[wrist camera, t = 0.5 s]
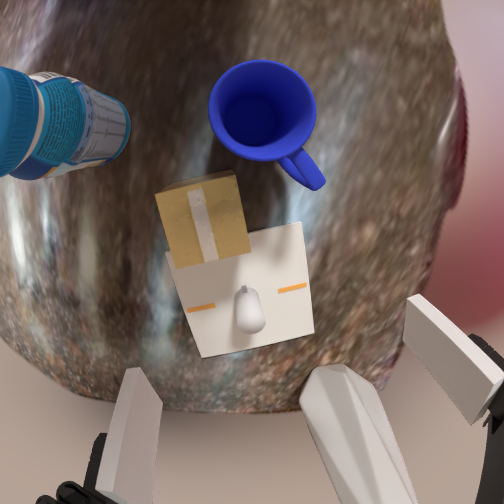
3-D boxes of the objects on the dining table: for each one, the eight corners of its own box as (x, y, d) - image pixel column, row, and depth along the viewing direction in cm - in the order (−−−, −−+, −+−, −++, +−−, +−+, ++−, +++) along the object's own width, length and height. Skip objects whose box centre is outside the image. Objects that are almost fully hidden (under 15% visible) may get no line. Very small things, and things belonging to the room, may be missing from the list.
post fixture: (165, 251, 32) (155, 272, 26) (300, 221, 33) (316, 236, 27) (201, 355, 38) (201, 385, 32) (313, 330, 38) (326, 357, 33)
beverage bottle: (147, 136, 27) (44, 122, 9) (91, 182, 28) (-33, 230, 10) (112, 81, 25) (3, 23, 6) (58, 128, 25) (-69, 129, 7)
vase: (361, 385, 45) (439, 531, 14) (302, 408, 45) (355, 570, 14) (357, 339, 40) (468, 517, 10) (287, 366, 40) (354, 574, 10)
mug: (265, 200, 32) (286, 221, 22) (195, 117, 27) (185, 101, 18) (321, 156, 30) (362, 160, 21) (255, 73, 26) (271, 41, 17)
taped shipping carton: (170, 183, 30) (152, 196, 21) (231, 169, 30) (236, 175, 21) (185, 241, 32) (174, 273, 24) (243, 228, 32) (252, 256, 24)
